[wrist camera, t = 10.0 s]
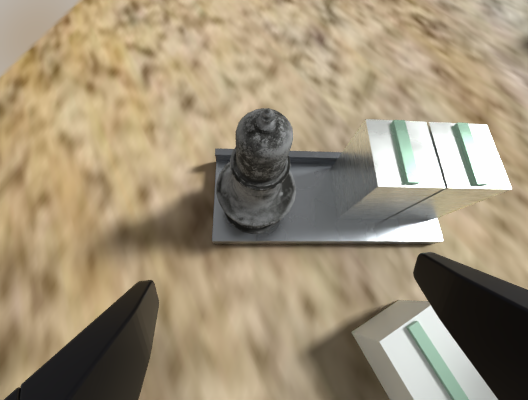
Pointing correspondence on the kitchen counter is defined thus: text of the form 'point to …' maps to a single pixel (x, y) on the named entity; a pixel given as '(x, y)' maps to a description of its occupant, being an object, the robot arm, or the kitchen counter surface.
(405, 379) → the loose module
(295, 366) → the kitchen counter surface
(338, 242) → the rail
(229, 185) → the dark grey tall piece
